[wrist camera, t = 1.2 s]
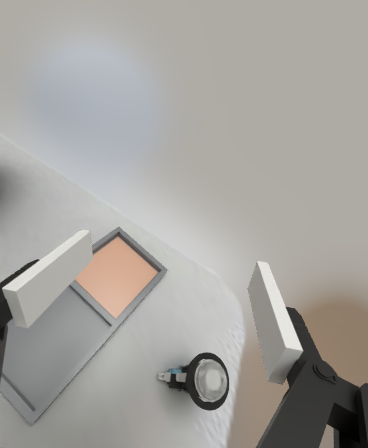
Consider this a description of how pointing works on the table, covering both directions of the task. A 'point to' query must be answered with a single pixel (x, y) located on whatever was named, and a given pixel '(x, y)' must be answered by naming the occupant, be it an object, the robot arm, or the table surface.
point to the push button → (201, 380)
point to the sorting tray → (76, 323)
